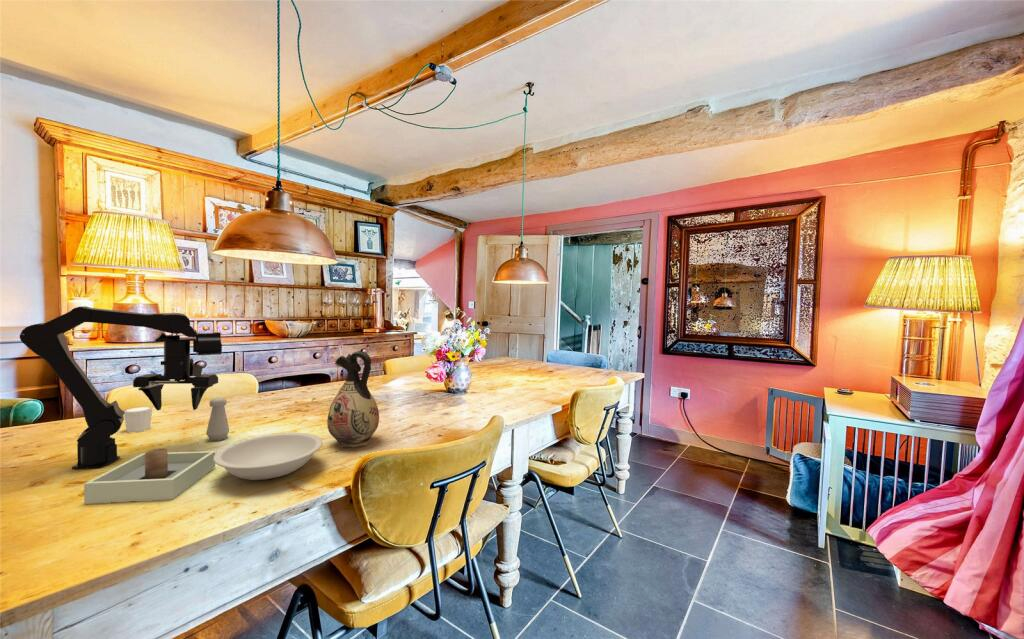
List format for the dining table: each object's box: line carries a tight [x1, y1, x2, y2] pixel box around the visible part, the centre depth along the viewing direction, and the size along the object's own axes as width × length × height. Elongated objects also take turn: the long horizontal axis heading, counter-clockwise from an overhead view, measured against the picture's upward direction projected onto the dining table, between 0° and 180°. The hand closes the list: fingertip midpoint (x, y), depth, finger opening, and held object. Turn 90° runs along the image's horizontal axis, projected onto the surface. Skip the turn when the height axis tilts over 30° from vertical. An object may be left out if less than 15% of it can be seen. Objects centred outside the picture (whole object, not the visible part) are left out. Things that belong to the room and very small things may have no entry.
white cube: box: [123, 406, 153, 433], centre depth 128 cm, size 7×7×7 cm
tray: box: [83, 450, 216, 505], centre depth 92 cm, size 17×17×4 cm
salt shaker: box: [205, 397, 230, 442], centre depth 122 cm, size 6×6×13 cm
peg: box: [145, 447, 169, 479], centre depth 92 cm, size 4×4×8 cm
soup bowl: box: [213, 432, 323, 481], centre depth 101 cm, size 24×24×7 cm
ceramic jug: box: [326, 350, 380, 448], centre depth 122 cm, size 17×15×30 cm
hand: (177, 409), depth 112 cm, fingers open, 9 cm apart
